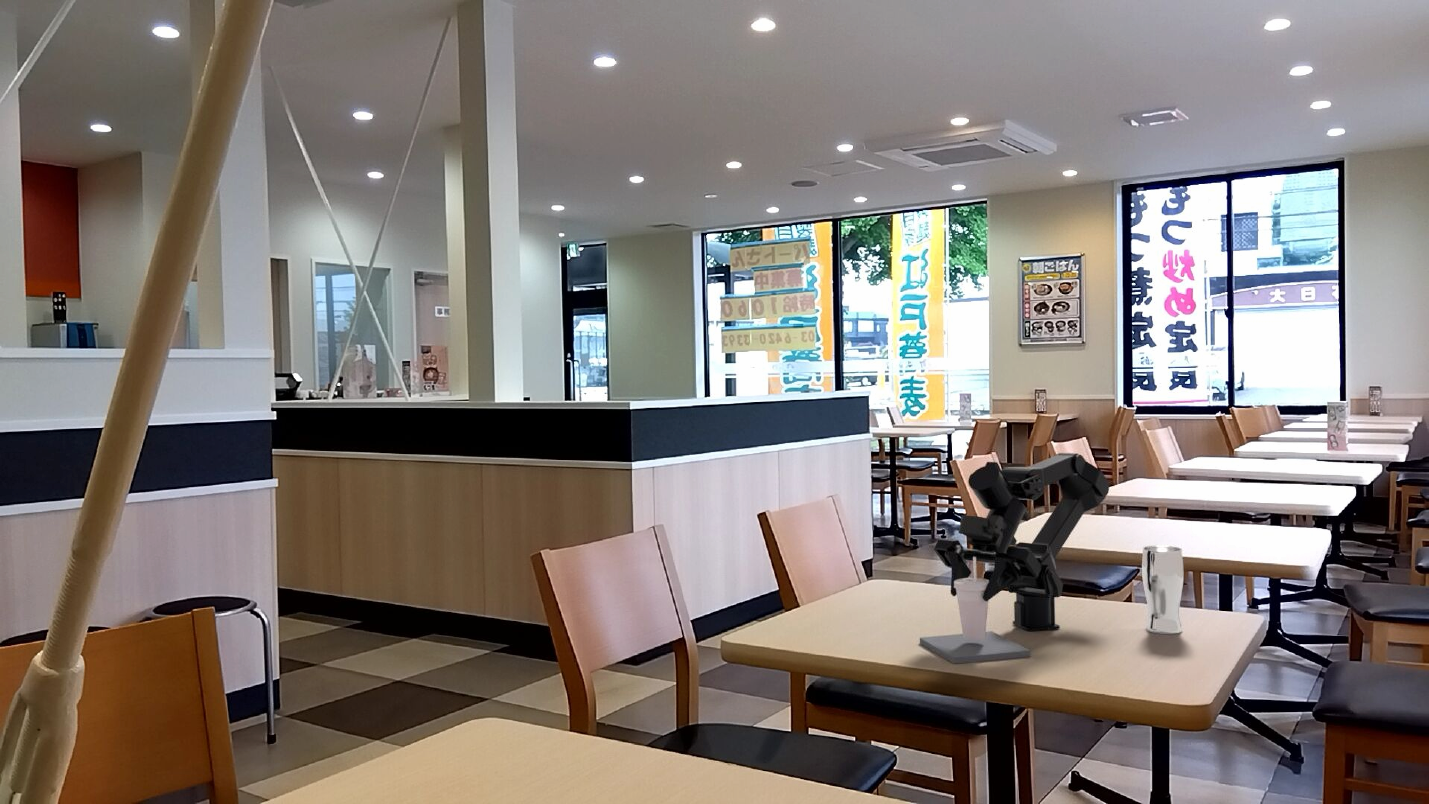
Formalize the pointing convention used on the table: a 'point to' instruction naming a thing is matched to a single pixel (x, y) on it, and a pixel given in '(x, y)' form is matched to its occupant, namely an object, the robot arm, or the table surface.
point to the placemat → (974, 648)
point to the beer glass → (1163, 588)
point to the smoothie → (972, 605)
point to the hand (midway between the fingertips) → (968, 597)
